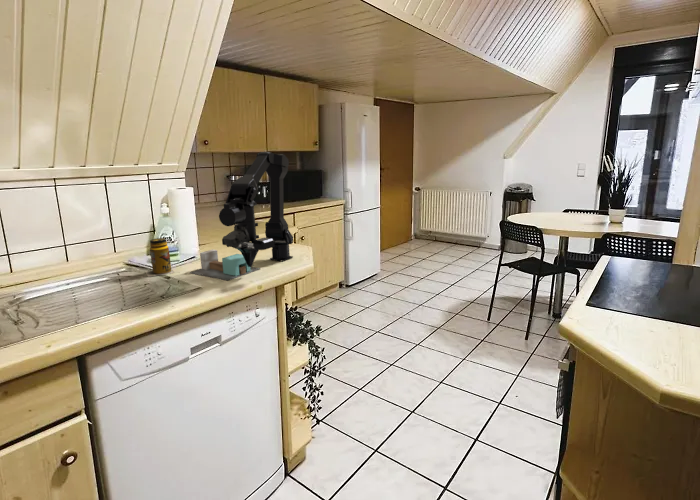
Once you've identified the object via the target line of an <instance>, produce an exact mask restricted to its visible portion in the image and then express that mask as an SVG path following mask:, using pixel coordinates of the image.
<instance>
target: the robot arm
mask: <svg viewBox="0 0 700 500" xmlns="http://www.w3.org/2000/svg"><path fill="white" fill-rule="evenodd" d="M289 161H290V160H289V157H287V156H286V154H278V153H277V154H276V153H273V152H271V151H262V152H261V151H259V152H258V153H256V158H255V159H254V160H253V162H252V164H251V165H250V166H249V168H248V169H247V171H246V173H245V174H244V175H242V176H240V177H239V178H238V177H237V178H236V180H234V182H232V184H231V185H230V188H229V192H228V195H227V198H226V202H225V203H224V204H223V208H221V210H220V211H219V214H218V218H219V221H220V223H221V224H222V225H223V226H225V227H232V226H233V230H231V231H230V232H229V233H227V234H226V235H224V236H223V237H222V239H221V241H222V245H223V246H226V248H233V249H235V250H238V251H239V252H240V253H241V254H242V255H243V257H244V259H245V261H246V263H247V266H248V267H253V264H254V262H255V259H256V257H257V255H258V252H259V251H265V250H269V249H271V255H272V256H271V257H269V260H272V261H279V262H284V261H286V260H290V259H293V258H294V256H293V255H290V254H291V253H290V245H292V244H293V243H294V236H293V235H292V233H291V231H290V230H289V224H288V222H287V221H286V219H285V217H284V216H285V215H284V211H285V210H284V209H285V208H284V207H285V206H284V196H285V195H284V179H285V177H286V175H287V174H288V172H289V165H290V164H289V163H290V162H289ZM265 172H266V174H267V176H268V177H269V189H270V190H269V191H270V193H269V194H270V195H269V198H270V200H269V201H270V211H269V212H270V217H269V219H268V221H266V222H265V231H264V234H265V237H262V238H260V235H259V234H257V230H256V229H257V228H256V227H259V223H258V222H256V218H255V217H256V216H255V206H257V202H256V201H254V200H255V198H256V196H257V194H258V191H259V188H258V184H259V182H260V181H261V179H262V177H263V176H264V174H265Z"/></svg>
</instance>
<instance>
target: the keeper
mask: <svg viewBox="0 0 700 500" xmlns="http://www.w3.org/2000/svg"><path fill="white" fill-rule="evenodd" d="M221 262H222V263H223V273H224V274H229V275H234V276H237V275H240V274H239V265H242V266H246V272H248V271H251V269H250V267H248V266H247V263H246V261H245V259H244V257H243V255H242V253H241V254H240V253H236V254H232V255H229V256H225V257H222V258H221Z"/></svg>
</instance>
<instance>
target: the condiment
mask: <svg viewBox="0 0 700 500" xmlns="http://www.w3.org/2000/svg"><path fill="white" fill-rule="evenodd" d="M149 243H150V244H149V246H150V247H149V254H150V260H151V269H152V270H146V271H144V272H145V274H146V277H148V278H149V277H155V276H162V275H169V274H173V273H175V271H174V270H173V269H172V263H171V262H172V261H171V256H170V250H169V249H170V248H169V246H168V242H167V239H166V238H164V237H160V238H159V237H158V238H157V237H156V238H152V239H151V240H149Z"/></svg>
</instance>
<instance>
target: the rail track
mask: <svg viewBox="0 0 700 500" xmlns="http://www.w3.org/2000/svg"><path fill="white" fill-rule="evenodd" d="M199 257H200V265H201V266H200V267H201V268H199V269H195V270H193V271H190V272H189V274H192V275H196V276H197V275H198V276H201V277H206V278H213V279H217V280H220V281H221V280H222V281H226V282H228V281H231V280H235V279H236V278H239V277H242V276H245V275H247V274H250V273H254V272H256V271H259V270H261V268H259V267H254V266H252V267H250V269H251V271H248V272H246V266H242V265H239V274H240V275H237V276H234V275H229V274H224V273H223V263H222V261H219V256H218V250H217V249H209V250H205V251H202V252H199Z"/></svg>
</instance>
